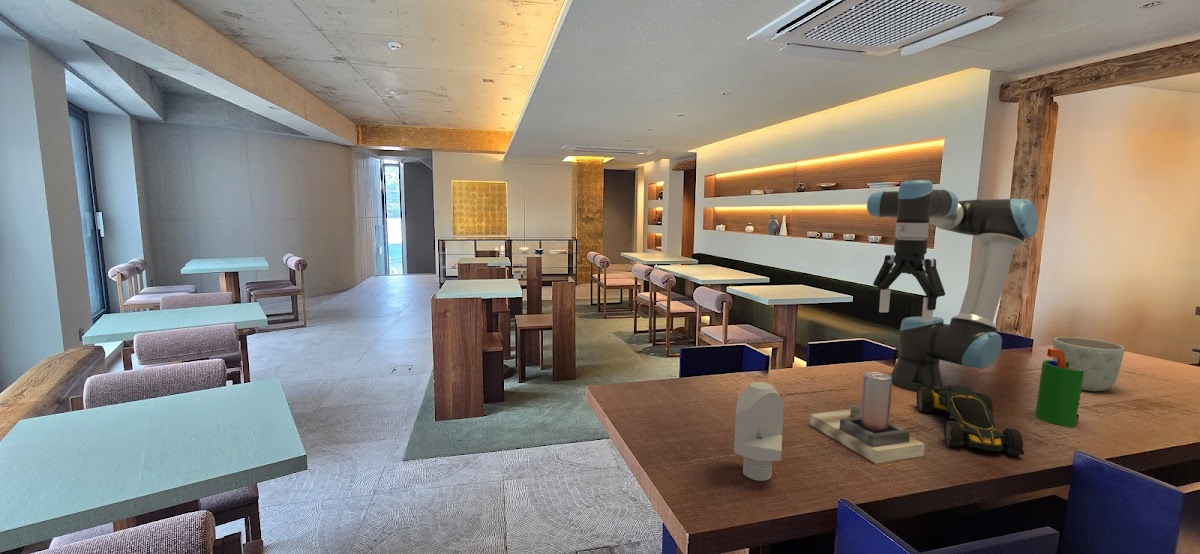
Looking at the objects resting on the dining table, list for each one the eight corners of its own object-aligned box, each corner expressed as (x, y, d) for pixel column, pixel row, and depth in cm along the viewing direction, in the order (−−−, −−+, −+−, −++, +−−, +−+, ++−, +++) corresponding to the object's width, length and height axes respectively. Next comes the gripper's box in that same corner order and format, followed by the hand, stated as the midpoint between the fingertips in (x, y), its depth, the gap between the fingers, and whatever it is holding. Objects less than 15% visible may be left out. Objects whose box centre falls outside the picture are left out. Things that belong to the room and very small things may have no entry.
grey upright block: (732, 480, 105) (736, 389, 103) (737, 460, 114) (740, 376, 111) (779, 489, 102) (784, 395, 99) (780, 468, 111) (785, 381, 108)
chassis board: (809, 424, 134) (811, 403, 133) (852, 419, 138) (853, 398, 137) (875, 463, 113) (877, 438, 112) (923, 456, 117) (925, 431, 116)
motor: (1089, 428, 134) (1098, 356, 131) (1050, 425, 135) (1059, 353, 133) (1062, 413, 143) (1071, 346, 141) (1026, 411, 145) (1034, 344, 143)
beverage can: (854, 430, 124) (858, 371, 122) (877, 429, 124) (882, 371, 123) (869, 440, 118) (874, 379, 116) (892, 440, 118) (898, 379, 117)
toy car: (981, 414, 144) (984, 380, 142) (1030, 464, 114) (1035, 422, 113) (914, 405, 149) (917, 373, 148) (945, 451, 120) (949, 412, 119)
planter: (1109, 384, 169) (1115, 341, 167) (1126, 400, 155) (1133, 352, 153) (1043, 375, 178) (1048, 334, 176) (1054, 389, 164) (1059, 344, 162)
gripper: (863, 237, 144) (857, 309, 147) (943, 241, 121) (935, 327, 123) (883, 237, 147) (878, 307, 149) (967, 241, 123) (958, 325, 125)
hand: (904, 316), depth 136 cm, fingers open, 13 cm apart
